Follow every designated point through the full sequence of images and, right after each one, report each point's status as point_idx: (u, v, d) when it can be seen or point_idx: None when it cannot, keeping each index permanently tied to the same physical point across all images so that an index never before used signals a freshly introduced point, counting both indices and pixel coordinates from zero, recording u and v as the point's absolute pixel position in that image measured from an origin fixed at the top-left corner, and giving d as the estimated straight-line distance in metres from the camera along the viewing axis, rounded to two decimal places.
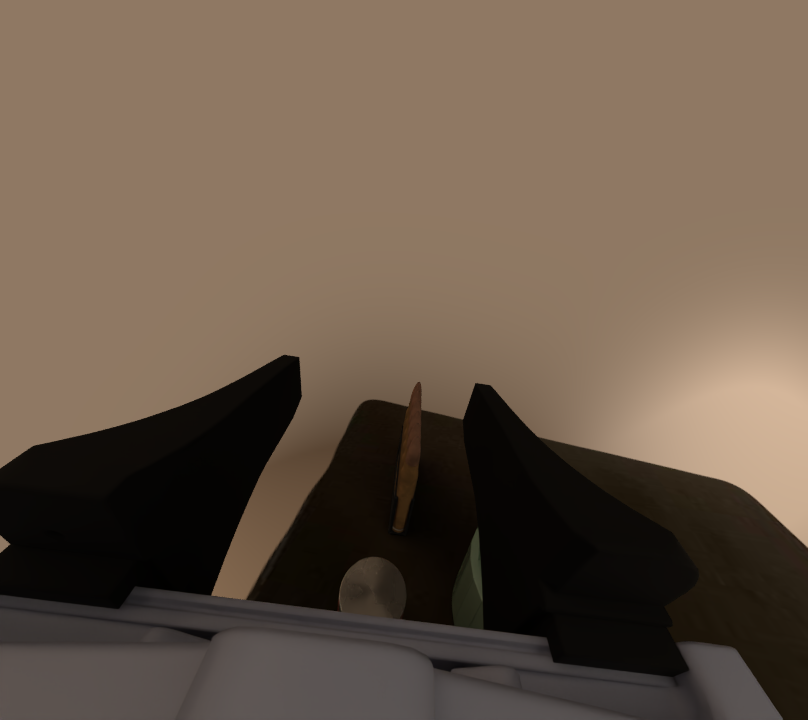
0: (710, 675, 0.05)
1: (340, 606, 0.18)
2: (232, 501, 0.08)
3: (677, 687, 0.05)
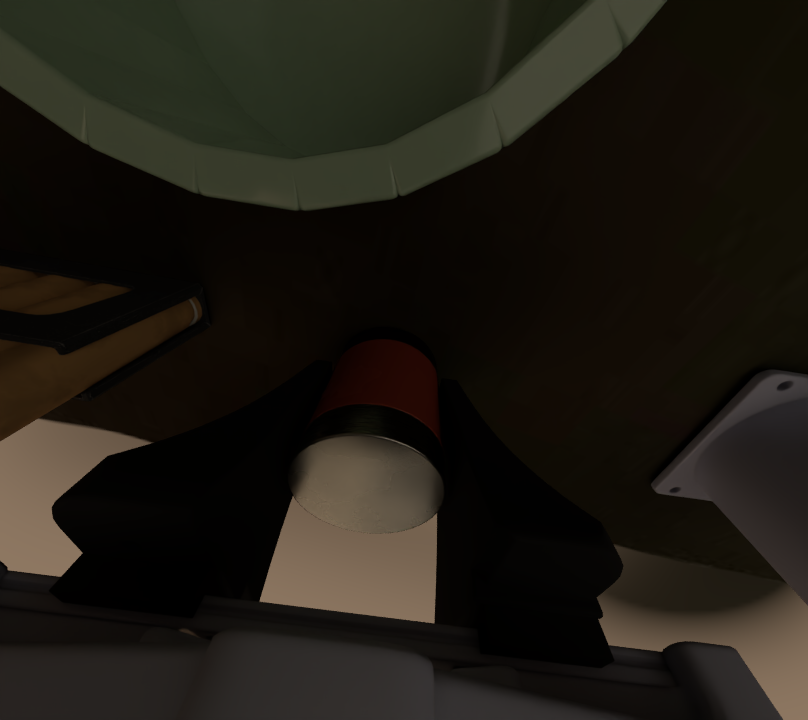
0: (710, 675, 0.05)
1: (392, 530, 0.09)
2: (278, 507, 0.08)
3: (677, 687, 0.05)
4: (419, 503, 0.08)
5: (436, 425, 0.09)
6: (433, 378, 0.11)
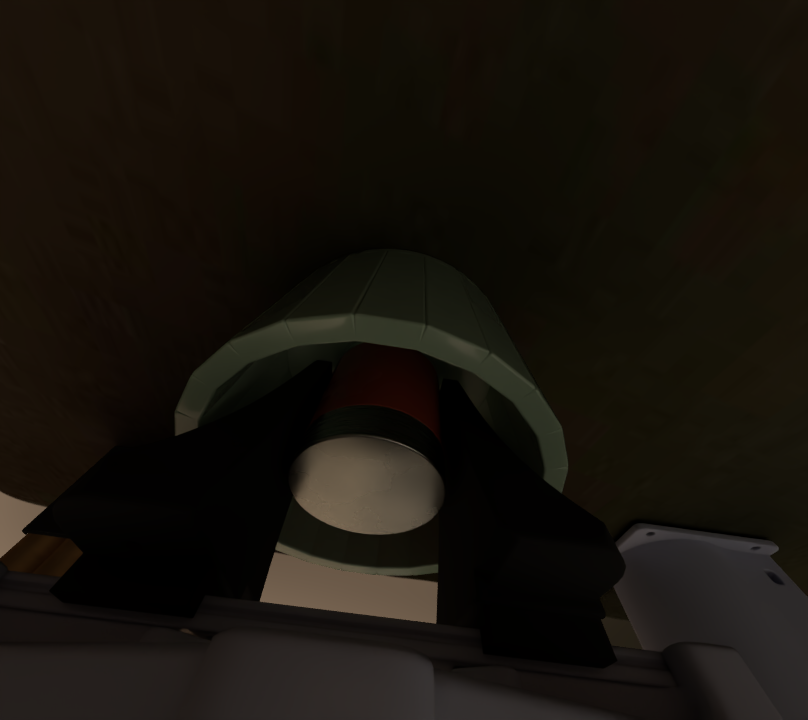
0: (710, 675, 0.05)
1: (392, 531, 0.09)
2: (278, 507, 0.08)
3: (677, 687, 0.05)
4: (419, 504, 0.08)
5: (437, 426, 0.09)
6: (434, 379, 0.11)
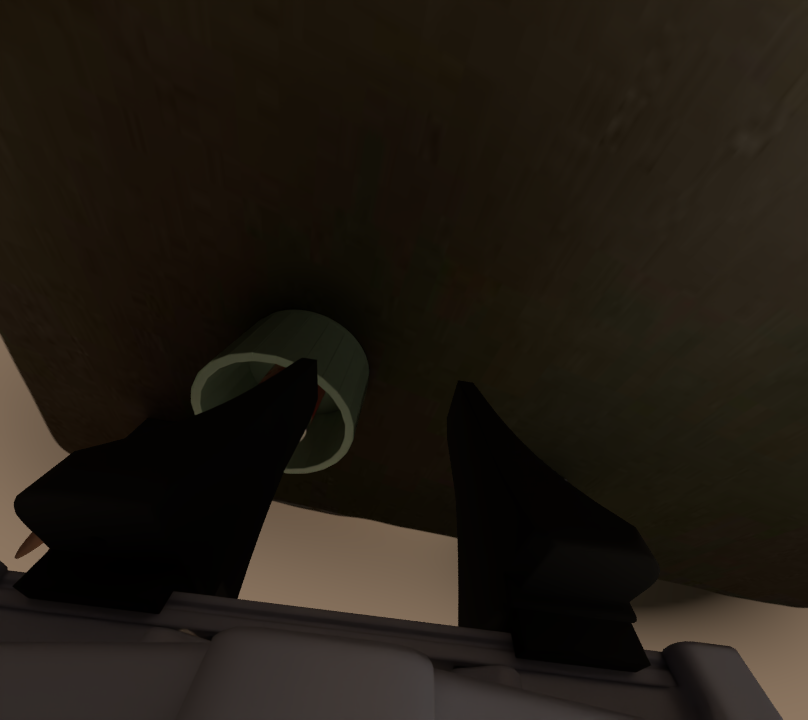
0: (710, 675, 0.05)
1: None
2: (257, 504, 0.08)
3: (677, 687, 0.05)
4: None
5: None
6: None
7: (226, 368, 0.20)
